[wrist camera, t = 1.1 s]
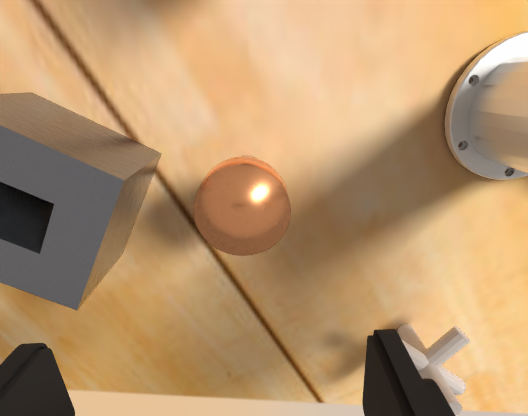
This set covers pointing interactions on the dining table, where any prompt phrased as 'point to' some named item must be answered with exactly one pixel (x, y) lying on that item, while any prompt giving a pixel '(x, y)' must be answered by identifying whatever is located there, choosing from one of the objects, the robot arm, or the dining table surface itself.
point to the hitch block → (64, 198)
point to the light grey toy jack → (437, 360)
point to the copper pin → (242, 206)
